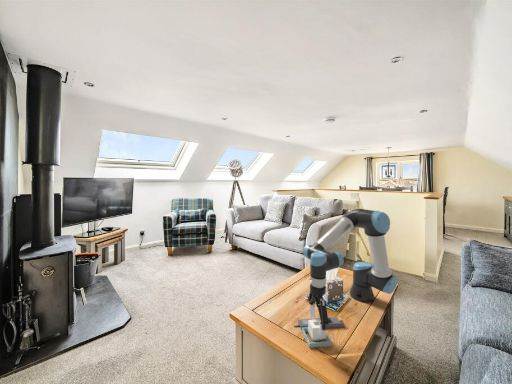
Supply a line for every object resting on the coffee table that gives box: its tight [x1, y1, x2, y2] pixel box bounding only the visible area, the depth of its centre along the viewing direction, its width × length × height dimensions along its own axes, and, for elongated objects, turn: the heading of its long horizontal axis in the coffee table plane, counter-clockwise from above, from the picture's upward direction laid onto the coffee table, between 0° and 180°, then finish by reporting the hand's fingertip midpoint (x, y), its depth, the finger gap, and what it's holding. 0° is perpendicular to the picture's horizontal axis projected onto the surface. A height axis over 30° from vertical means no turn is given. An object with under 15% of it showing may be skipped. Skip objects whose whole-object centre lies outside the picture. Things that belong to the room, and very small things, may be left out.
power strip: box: [293, 316, 345, 331], centre depth 121 cm, size 27×5×4 cm, turn 97°
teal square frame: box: [301, 327, 333, 349], centre depth 111 cm, size 11×11×3 cm
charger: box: [308, 319, 326, 342], centre depth 111 cm, size 6×6×8 cm
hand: (317, 325), depth 111 cm, fingers open, 13 cm apart
